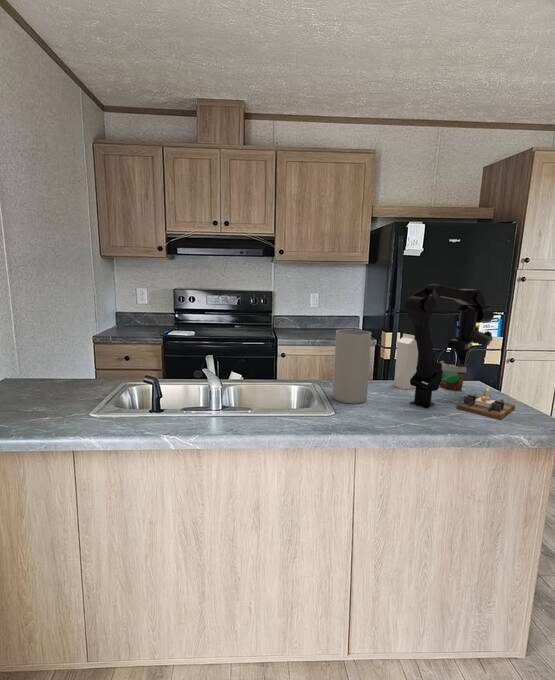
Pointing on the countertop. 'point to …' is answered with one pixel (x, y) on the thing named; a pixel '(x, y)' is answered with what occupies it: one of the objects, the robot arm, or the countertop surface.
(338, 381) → the cylinder vase
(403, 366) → the milk
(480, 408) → the stand
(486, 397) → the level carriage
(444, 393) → the countertop surface
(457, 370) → the food container
